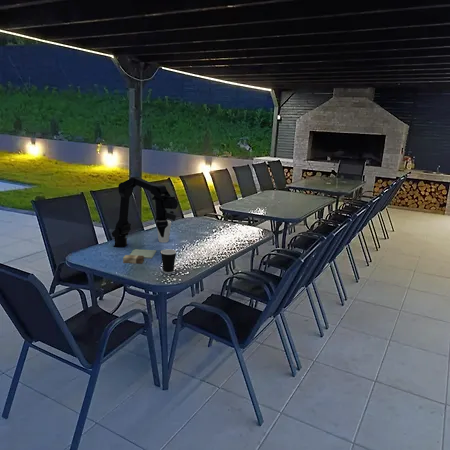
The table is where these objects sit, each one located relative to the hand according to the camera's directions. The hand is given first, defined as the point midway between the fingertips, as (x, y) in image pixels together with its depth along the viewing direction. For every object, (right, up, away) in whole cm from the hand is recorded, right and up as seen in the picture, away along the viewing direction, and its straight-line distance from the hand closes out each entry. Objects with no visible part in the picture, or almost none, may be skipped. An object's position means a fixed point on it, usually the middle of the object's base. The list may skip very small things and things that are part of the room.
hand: (162, 235), depth 223 cm
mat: (-12, -11, +4) cm, 17 cm away
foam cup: (-4, -5, +33) cm, 33 cm away
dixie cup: (+7, -18, -21) cm, 29 cm away
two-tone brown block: (-14, -14, -8) cm, 22 cm away
